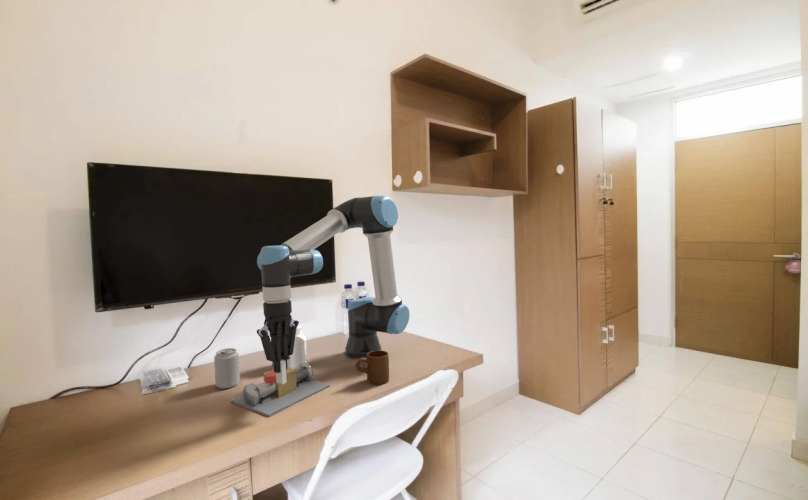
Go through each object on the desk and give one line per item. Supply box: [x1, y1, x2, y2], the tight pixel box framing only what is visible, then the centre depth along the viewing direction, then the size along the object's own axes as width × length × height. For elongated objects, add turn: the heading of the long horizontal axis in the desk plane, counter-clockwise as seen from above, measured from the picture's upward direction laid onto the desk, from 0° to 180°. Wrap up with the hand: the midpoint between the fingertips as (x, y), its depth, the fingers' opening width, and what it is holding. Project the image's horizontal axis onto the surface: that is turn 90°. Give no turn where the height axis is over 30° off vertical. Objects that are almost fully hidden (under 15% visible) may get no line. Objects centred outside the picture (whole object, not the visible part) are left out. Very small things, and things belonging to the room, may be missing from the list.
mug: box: [355, 350, 390, 386], centre depth 129 cm, size 12×8×9 cm, turn 121°
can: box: [213, 348, 241, 390], centre depth 129 cm, size 8×8×12 cm
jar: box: [287, 324, 308, 370], centre depth 147 cm, size 12×10×15 cm
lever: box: [265, 361, 276, 384], centre depth 116 cm, size 15×4×2 cm, turn 7°
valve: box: [242, 361, 314, 406], centre depth 122 cm, size 22×7×8 cm, turn 147°
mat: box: [230, 378, 331, 418], centre depth 122 cm, size 24×18×1 cm
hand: (281, 382), depth 109 cm, fingers closed
